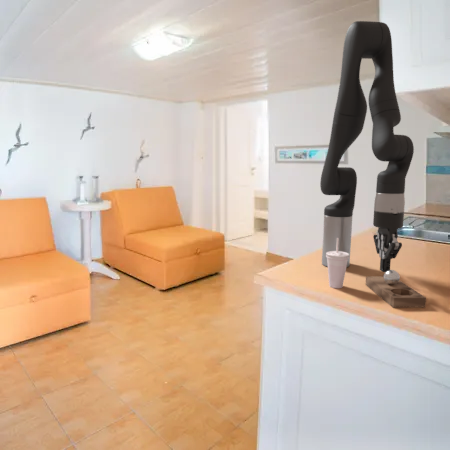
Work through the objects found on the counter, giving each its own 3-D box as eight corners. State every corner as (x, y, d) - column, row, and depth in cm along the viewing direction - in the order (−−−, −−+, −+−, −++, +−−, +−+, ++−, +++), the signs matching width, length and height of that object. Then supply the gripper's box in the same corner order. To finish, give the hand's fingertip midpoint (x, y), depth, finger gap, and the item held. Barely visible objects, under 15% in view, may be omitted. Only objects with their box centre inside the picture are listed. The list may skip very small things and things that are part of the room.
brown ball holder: (365, 284, 108) (366, 276, 108) (392, 284, 109) (393, 276, 108) (393, 307, 92) (393, 297, 91) (425, 307, 92) (426, 297, 91)
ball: (380, 281, 103) (381, 268, 102) (394, 281, 103) (395, 267, 102) (387, 286, 99) (388, 272, 98) (401, 286, 99) (403, 272, 99)
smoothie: (343, 282, 110) (345, 236, 108) (350, 289, 104) (353, 240, 102) (321, 282, 110) (323, 236, 108) (328, 290, 104) (330, 241, 101)
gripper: (365, 207, 108) (362, 265, 111) (385, 212, 95) (381, 278, 98) (391, 207, 108) (387, 265, 111) (415, 212, 95) (410, 278, 98)
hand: (384, 271), depth 104 cm, fingers closed
